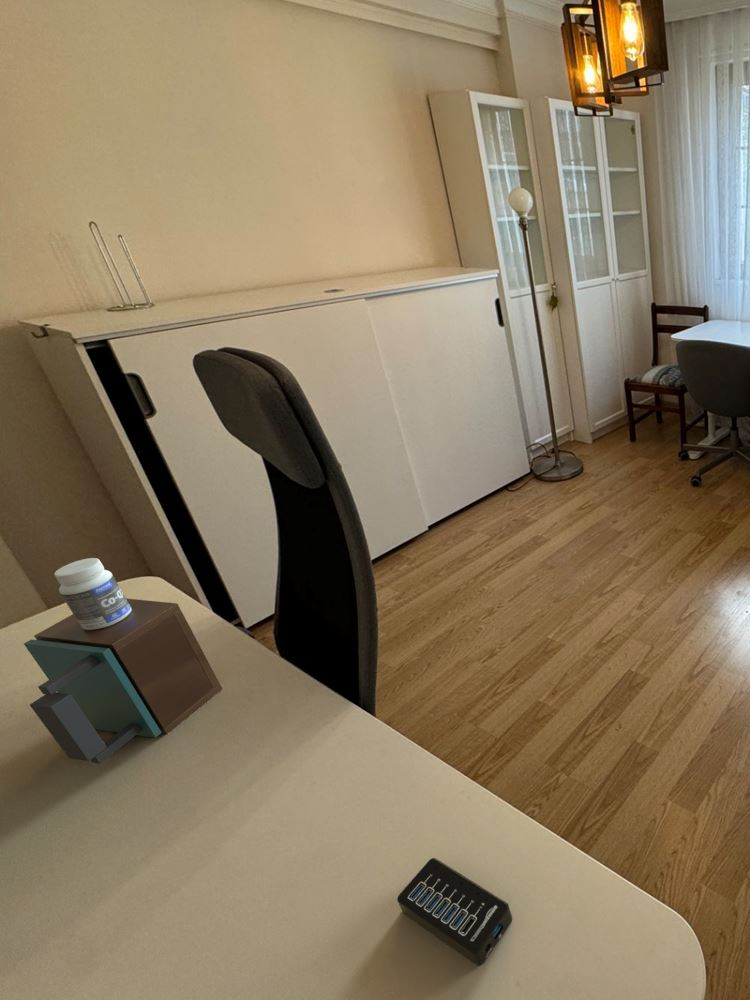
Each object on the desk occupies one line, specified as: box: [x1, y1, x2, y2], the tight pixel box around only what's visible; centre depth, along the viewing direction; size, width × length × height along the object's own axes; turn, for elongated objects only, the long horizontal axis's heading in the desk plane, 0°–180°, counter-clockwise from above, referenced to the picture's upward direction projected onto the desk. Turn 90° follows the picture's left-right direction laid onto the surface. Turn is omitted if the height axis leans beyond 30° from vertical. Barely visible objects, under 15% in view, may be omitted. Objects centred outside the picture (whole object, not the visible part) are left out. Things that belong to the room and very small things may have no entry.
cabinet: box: [33, 597, 223, 735], centre depth 77 cm, size 12×8×16 cm, turn 82°
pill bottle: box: [54, 557, 132, 630], centre depth 72 cm, size 5×5×8 cm
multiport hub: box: [396, 857, 513, 967], centre depth 55 cm, size 4×11×2 cm, turn 65°
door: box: [23, 639, 162, 764], centre depth 70 cm, size 12×7×15 cm, turn 82°
